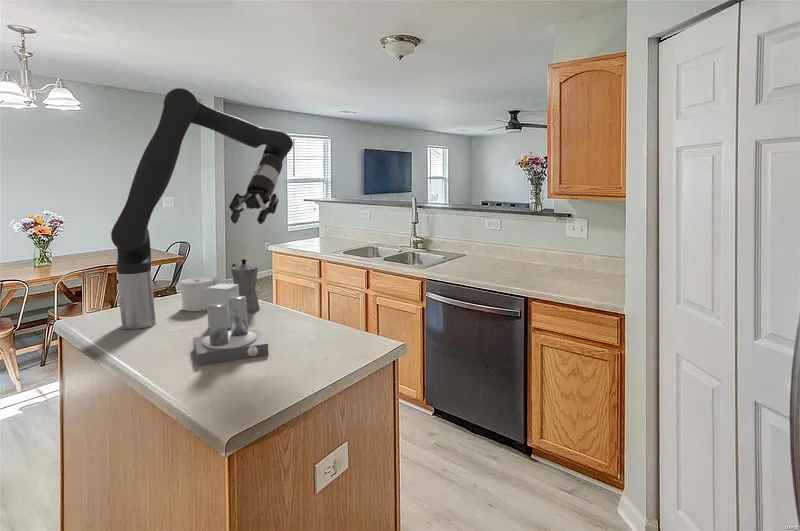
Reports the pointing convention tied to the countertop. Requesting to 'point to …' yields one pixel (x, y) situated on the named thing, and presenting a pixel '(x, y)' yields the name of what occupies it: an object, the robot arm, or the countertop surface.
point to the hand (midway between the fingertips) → (246, 222)
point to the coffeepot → (246, 283)
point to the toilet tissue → (196, 292)
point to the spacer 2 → (238, 315)
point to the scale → (230, 348)
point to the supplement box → (222, 297)
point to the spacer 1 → (217, 324)
